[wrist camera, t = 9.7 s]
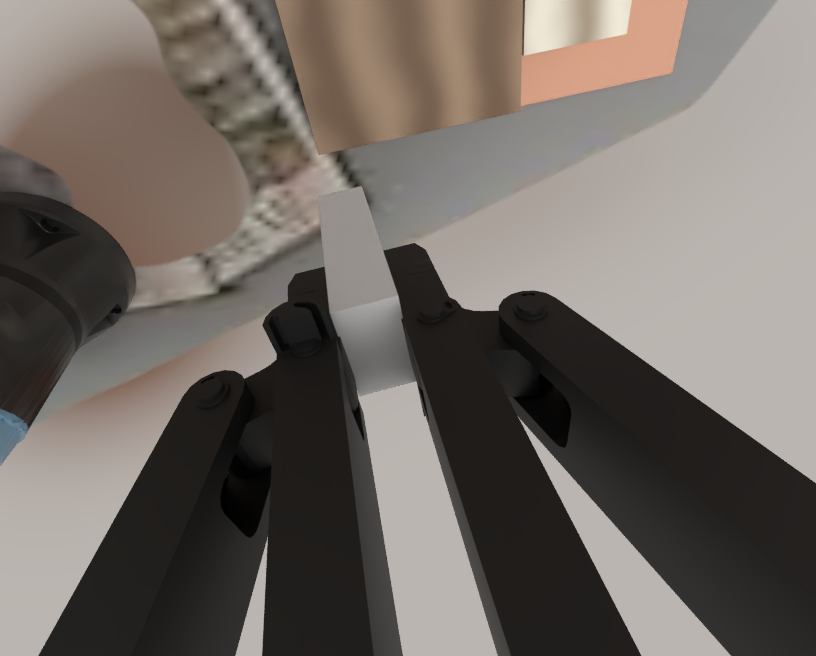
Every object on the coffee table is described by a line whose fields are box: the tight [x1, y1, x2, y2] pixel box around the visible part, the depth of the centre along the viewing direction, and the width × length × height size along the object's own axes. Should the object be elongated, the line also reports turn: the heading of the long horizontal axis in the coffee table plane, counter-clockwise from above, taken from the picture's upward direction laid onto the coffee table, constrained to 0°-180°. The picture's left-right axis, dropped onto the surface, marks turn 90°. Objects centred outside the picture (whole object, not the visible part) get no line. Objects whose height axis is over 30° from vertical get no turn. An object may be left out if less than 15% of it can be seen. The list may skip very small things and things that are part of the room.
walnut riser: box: [275, 0, 523, 155], centre depth 33 cm, size 18×14×4 cm
